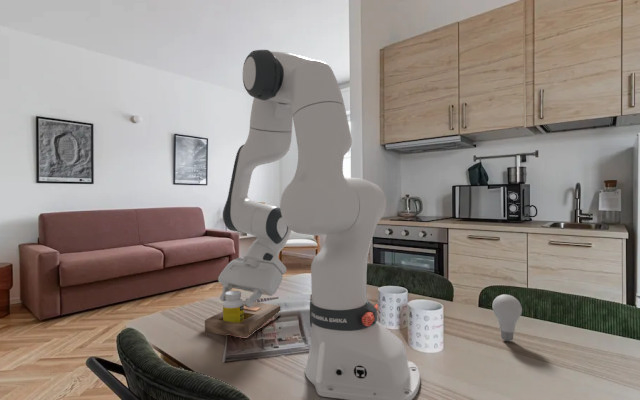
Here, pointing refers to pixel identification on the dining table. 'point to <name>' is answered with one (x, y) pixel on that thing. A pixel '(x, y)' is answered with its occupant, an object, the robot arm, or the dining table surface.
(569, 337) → the dining table surface
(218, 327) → the block
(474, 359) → the dining table surface
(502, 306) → the lightbulb
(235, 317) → the supplement bottle
